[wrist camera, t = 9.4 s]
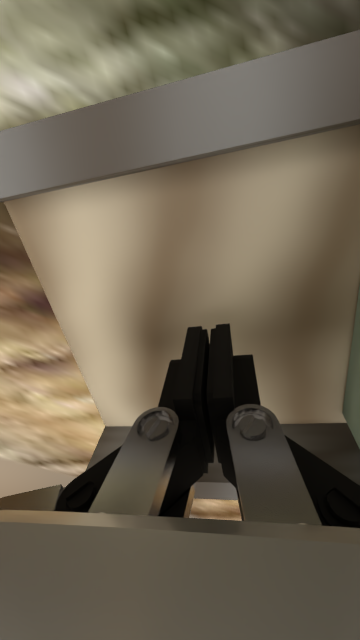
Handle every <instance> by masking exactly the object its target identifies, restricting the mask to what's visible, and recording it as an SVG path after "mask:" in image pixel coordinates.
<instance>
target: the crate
mask: <svg viewBox="0 0 360 640" xmlns="http://www.w3.org/2000/svg"><path fill="white" fill-rule="evenodd" d="M342 414H343V416H344V418H345V420H346V422H347V424H348V426H349V428H350V430H351V432H352V434H353V436H354V439H355V441H356V443H357V445H358V447H359V449H360V286H359V293H358V300H357V308H356V315H355V323H354V330H353V337H352V345H351V352H350V360H349V367H348V375H347V382H346V389H345V397H344V404H343V412H342Z"/></svg>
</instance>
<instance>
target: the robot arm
mask: <svg viewBox="0 0 360 640" xmlns="http://www.w3.org/2000/svg"><path fill="white" fill-rule="evenodd" d="M214 446H215V448H216V453H217V459H218V463H221V466H222V471H223V476H224V477H225V478H226V479H227V480H228V481H229V482H230V483H231V484H232V485H233V486H234V487H235V488H236V493H237V498H238V503H239V508H240V514H241V519H242V521H234V520H215V519H197V518H189V516H190V512H191V507H192V503H193V499H194V494H195V487H196V484H195V482H196V481H198V480H199V479H200V478H201V477H202V476H203V473H208V463H214ZM0 640H360V485H358V484H357V483H355V482H354V481H352V480H351V479H349V478H348V477H346V476H345V475H343V474H342V473H340V472H339V471H337V470H336V469H335V468H333V467H332V466H330V465H329V464H327V463H326V462H324V461H323V460H321V459H320V458H318V457H317V456H315V455H314V454H312V453H311V452H309V451H308V450H306V449H305V448H303V447H302V446H300V445H299V444H297V443H296V442H294V441H293V440H292V439H290V438H289V437H287V436H286V435H284V433H283V430H282V428H281V426H280V423H279V421H278V419H277V417H276V416H275V414H274V413H273V412H272V411H270V410H269V409H268V408H266V407H263V406H261V403H260V397H259V391H258V384H257V378H256V372H255V366H254V360H253V355H252V354H250V355H235V356H233V348H232V339H231V331H230V323H228V324H218V325H216V328H213V329H211V334H210V343H209V337H208V331H207V329H202V326H196V327H188V329H187V333H186V338H185V343H184V348H183V352H182V357H181V359H177V360H171V361H170V363H169V367H168V370H167V374H166V378H165V382H164V385H163V389H162V393H161V397H160V401H159V404H158V407H155V408H152V409H149V410H147V411H145V412H143V413H142V414H141V415H140V416H139V417H138V418H137V419H136V421H135V422H134V424H133V426H132V428H131V430H130V432H129V433H128V435H127V437H126V439H125V441H124V443H123V445H122V446H120V447H119V448H117V449H116V450H115V451H113V452H112V453H110V454H109V455H107V456H106V457H105V458H103V459H102V460H100V461H99V462H98V463H96V464H95V465H93V466H92V467H91V468H89V469H88V470H86V471H85V472H84V473H82V474H81V475H79V476H78V477H77V478H75V479H74V480H73V481H72V482H71V483H69V484H68V485H67V486H66V487H64V488H63V487H62V485H56V486H52V487H47V488H42V489H38V490H33V491H29V492H24V493H20V494H15V495H11V496H7V497H3V498H0Z"/></svg>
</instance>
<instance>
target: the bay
mask: <svg viewBox="0 0 360 640" xmlns="http://www.w3.org/2000/svg"><path fill="white" fill-rule="evenodd" d="M0 202H4V203H5V205H6V207H7V210H8V212H9V214H10V216H11V218H12V221H13V223H14V225H15V227H16V230H17V232H18V234H19V236H20V238H21V241H22V243H23V245H24V247H25V249H26V252H27V254H28V256H29V258H30V261H31V263H32V265H33V267H34V269H35V272H36V274H37V276H38V278H39V280H40V283H41V285H42V287H43V289H44V292H45V294H46V296H47V298H48V300H49V303H50V305H51V307H52V309H53V311H54V314H55V316H56V318H57V320H58V323H59V325H60V327H61V329H62V331H63V334H64V336H65V338H66V340H67V343H68V345H69V347H70V349H71V351H72V354H73V356H74V358H75V360H76V362H77V365H78V367H79V369H80V371H81V374H82V376H83V378H84V380H85V382H86V385H87V387H88V389H89V391H90V393H91V396H92V398H93V400H94V402H95V405H96V407H97V409H98V411H99V413H100V416H101V418H102V420H103V422H104V424H105V429H104V431H103V433H102V435H101V437H100V440H99V442H98V444H97V446H96V449H95V451H94V453H93V455H92V458H91V460H90V462H89V464H88V467H87V469H86V470H88V469H89V468H91V467H92V466H93V465H95V464H96V463H98V462H99V461H100V460H102V459H103V458H105V457H106V456H107V455H109V454H110V453H112V452H113V451H115V450H116V449H117V448H119V447H120V446H122V445H123V443H124V441H125V439H126V437H127V435H128V433H129V432H130V430H131V428H132V426H133V424H134V422H135V421H136V419H137V418H138V417H139V416H140V415H141V414H142V413H143V412H145V411H147V410H149V409H152V408H155V407H158V404H159V401H160V397H161V393H162V389H163V385H164V382H165V378H166V374H167V370H168V367H169V363H170V361H171V360H177V359H181V357H182V352H183V348H184V343H185V338H186V333H187V329H188V327H196V326H202V329H207V331H208V337H209V343H210V334H211V329H213V328H216V325H218V324H228V323H230V331H231V339H232V348H233V356H235V355H250V354H252V355H253V360H254V366H255V372H256V378H257V384H258V391H259V397H260V403H261V406H263V407H266V408H268V409H269V410H270V411H272V412H273V413H274V414H275V416H276V417H277V419H278V421H279V423H280V426H281V428H282V430H283V433H284V435H286V436H287V437H289V438H290V439H292V440H293V441H294V442H296V443H297V444H299V445H300V446H302V447H303V448H305V449H306V450H308V451H309V452H311V453H312V454H314V455H315V456H317V457H318V458H320V459H321V460H323V461H324V462H326V463H327V464H329V465H330V466H332V467H333V468H335V469H336V470H337V471H339V472H340V473H342V474H343V475H345V476H346V477H348V478H349V479H351V480H352V481H354V482H355V483H357V484H358V485H360V449H359V447H358V445H357V443H356V441H355V439H354V436H353V434H352V432H351V430H350V428H349V426H348V424H347V422H346V420H345V418H344V416H343V414H342V412H343V404H344V397H345V389H346V382H347V375H348V367H349V360H350V352H351V345H352V337H353V330H354V323H355V315H356V308H357V300H358V293H359V286H360V30H357V31H353V32H350V33H346V34H343V35H339V36H336V37H332V38H329V39H325V40H322V41H318V42H314V43H311V44H307V45H304V46H300V47H297V48H293V49H290V50H286V51H283V52H279V53H275V54H272V55H268V56H265V57H261V58H258V59H254V60H251V61H247V62H244V63H240V64H236V65H233V66H229V67H226V68H222V69H219V70H215V71H212V72H208V73H204V74H201V75H197V76H194V77H190V78H187V79H183V80H180V81H176V82H173V83H169V84H165V85H162V86H158V87H155V88H151V89H148V90H144V91H141V92H137V93H134V94H130V95H126V96H123V97H119V98H116V99H112V100H109V101H105V102H102V103H98V104H95V105H91V106H87V107H84V108H80V109H77V110H73V111H70V112H66V113H63V114H59V115H55V116H52V117H48V118H45V119H41V120H38V121H34V122H31V123H27V124H24V125H20V126H16V127H13V128H9V129H6V130H2V131H0ZM195 484H196V487H195V494H194V498H199V499H223V500H238V498H237V493H236V488H235V487H234V486H233V485H232V484H231V483H230V482H229V481H228V480H227V479H226V478H225V477H224V476H223V471H222V466H221V463H218V459H217V453H216V448H215V446H214V463H208V473H203V476H202V477H201V478H200V479H199V480H198V481H196V482H195Z"/></svg>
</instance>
